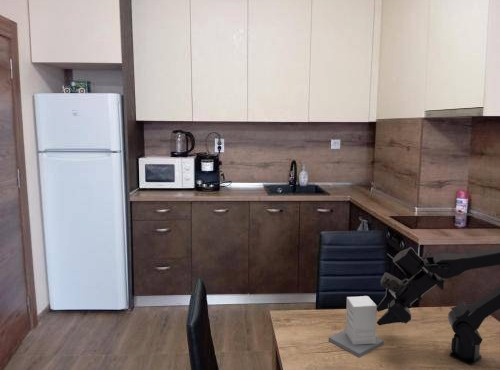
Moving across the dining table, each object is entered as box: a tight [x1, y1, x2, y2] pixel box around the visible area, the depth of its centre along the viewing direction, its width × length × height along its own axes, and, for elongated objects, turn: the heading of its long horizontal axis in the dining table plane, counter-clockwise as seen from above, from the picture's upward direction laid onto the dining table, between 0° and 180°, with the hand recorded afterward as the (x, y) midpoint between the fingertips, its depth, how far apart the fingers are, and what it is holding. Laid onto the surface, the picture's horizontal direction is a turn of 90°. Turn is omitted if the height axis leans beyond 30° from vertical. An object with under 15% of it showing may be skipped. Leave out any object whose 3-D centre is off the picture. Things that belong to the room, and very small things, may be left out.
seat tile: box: [328, 328, 385, 358], centre depth 129 cm, size 12×12×1 cm
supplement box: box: [345, 295, 378, 345], centre depth 128 cm, size 7×7×13 cm
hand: (377, 316), depth 126 cm, fingers open, 9 cm apart
